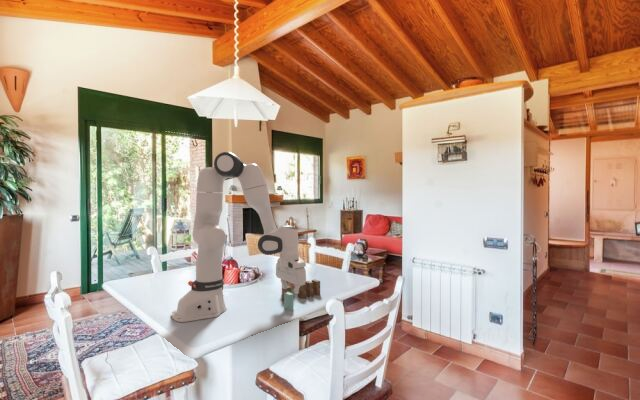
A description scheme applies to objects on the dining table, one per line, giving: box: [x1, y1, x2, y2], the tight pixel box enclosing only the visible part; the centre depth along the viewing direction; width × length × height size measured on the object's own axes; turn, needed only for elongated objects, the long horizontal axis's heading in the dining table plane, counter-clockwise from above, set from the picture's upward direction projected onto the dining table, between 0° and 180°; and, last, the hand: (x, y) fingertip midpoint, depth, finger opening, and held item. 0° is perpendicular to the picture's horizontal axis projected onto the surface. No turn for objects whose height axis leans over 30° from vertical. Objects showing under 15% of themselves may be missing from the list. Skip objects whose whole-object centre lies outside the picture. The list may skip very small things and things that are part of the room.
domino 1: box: [281, 286, 291, 302], centre depth 158 cm, size 2×4×7 cm, turn 37°
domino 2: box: [296, 284, 307, 300], centre depth 164 cm, size 2×4×7 cm, turn 37°
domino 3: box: [305, 280, 314, 298], centre depth 166 cm, size 2×4×7 cm, turn 37°
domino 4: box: [311, 279, 321, 296], centre depth 169 cm, size 2×4×7 cm, turn 37°
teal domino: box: [283, 292, 294, 311], centre depth 148 cm, size 2×4×7 cm, turn 37°
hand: (290, 290), depth 148 cm, fingers open, 8 cm apart
